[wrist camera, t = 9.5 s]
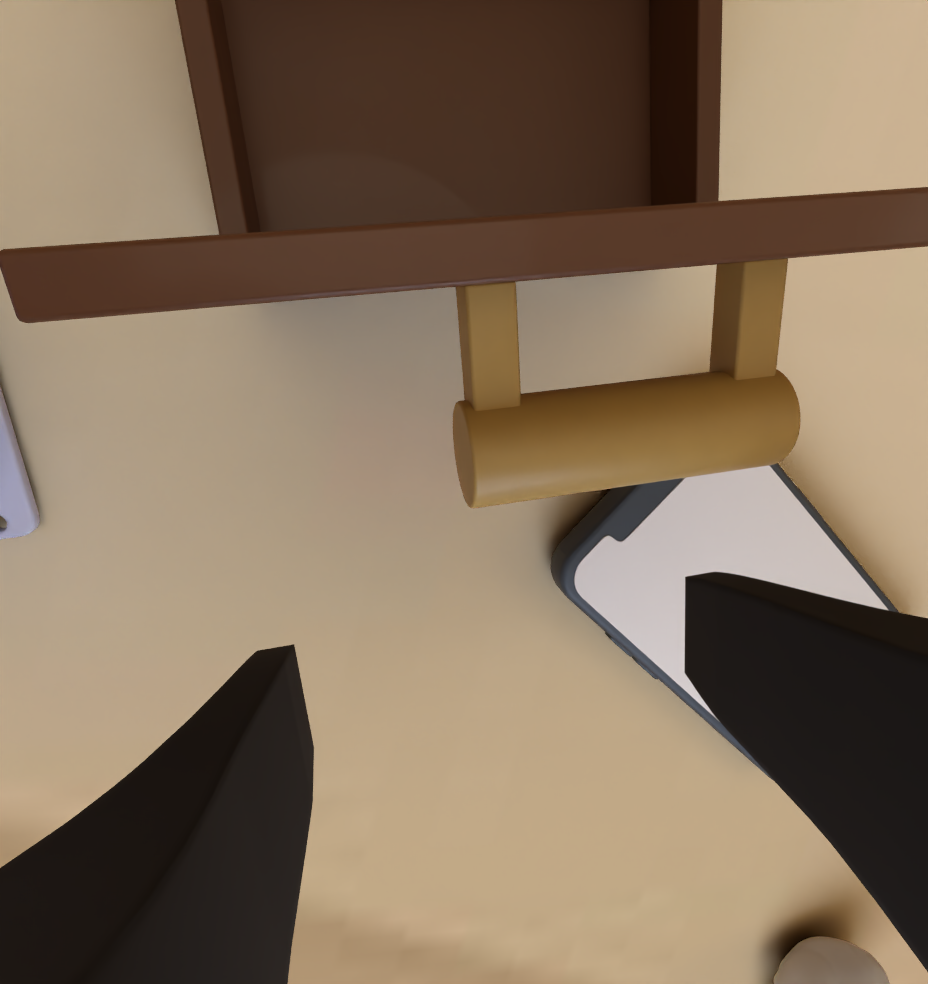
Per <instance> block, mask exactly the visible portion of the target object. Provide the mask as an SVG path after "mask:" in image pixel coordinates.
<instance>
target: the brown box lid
mask: <svg viewBox="0 0 928 984" xmlns="http://www.w3.org/2000/svg"><path fill="white" fill-rule="evenodd" d="M925 246H928V187H922V188H907V189H892V190H877V191H862V192H847V193H832V194H818V195H803V196H788V197H773V198H758V199H743V200H728V201H714V202H699V203H684V204H669V205H654V206H639V207H624V208H610V209H595V210H580V211H565V212H550V213H535V214H520V215H506V216H491V217H476V218H461V219H446V220H431V221H416V222H402V223H387V224H372V225H357V226H342V227H327V228H312V229H298V230H283V231H268V232H253V233H238V234H223V235H208V236H194V237H179V238H164V239H149V240H134V241H119V242H104V243H90V244H75V245H60V246H45V247H30V248H15V249H3V250H1V251H0V268H1V271H2V274H3V277H4V280H5V283H6V286H7V289H8V292H9V295H10V298H11V301H12V304H13V307H14V310H15V313H16V316H17V318H18V319H19V320H20V321H22V322H25V323H35V322H46V321H58V320H70V319H81V318H93V317H105V316H117V315H128V314H140V313H152V312H163V311H175V310H187V309H199V308H210V307H222V306H234V305H245V304H257V303H269V302H281V301H292V300H304V299H316V298H328V297H339V296H351V295H363V294H374V293H386V292H398V291H410V290H421V289H433V288H445V287H456V295H457V308H458V320H459V333H460V346H461V359H462V372H463V385H464V398H465V400H464V401H458V402H457V403H456V404H455V407H454V412H453V440H454V450H455V458H456V465H457V471H458V476H459V481H460V485H461V489H462V493H463V496H464V498H465V501H466V503H467V504H468V506H469V507H470V508H479V507H486V506H493V505H500V504H507V503H514V502H521V501H528V500H534V499H541V498H548V497H555V496H562V495H569V494H576V493H583V492H590V491H596V490H603V489H610V488H617V487H624V486H631V485H638V484H645V483H652V482H658V481H665V480H672V479H679V478H686V477H693V476H700V475H707V474H714V473H720V472H727V471H734V470H741V469H748V468H755V467H762V466H769V465H773V464H776V463H778V462H780V461H782V460H783V459H784V458H785V457H787V456H788V455H789V453H790V452H791V451H792V449H793V447H794V445H795V443H796V441H797V437H798V434H799V429H800V407H799V402H798V398H797V395H796V392H795V390H794V388H793V386H792V384H791V383H790V381H789V380H788V379H787V377H786V376H785V375H784V374H783V373H781V372H780V371H779V370H777V369H776V365H777V355H778V346H779V337H780V328H781V319H782V309H783V300H784V291H785V282H786V272H787V263H788V258H796V257H808V256H820V255H831V254H843V253H855V252H866V251H878V250H890V249H902V248H913V247H925ZM714 264H717V269H716V284H715V298H714V313H713V327H712V342H711V356H710V371H709V372H706V373H697V374H688V375H680V376H671V377H662V378H654V379H645V380H637V381H628V382H619V383H611V384H602V385H593V386H585V387H576V388H568V389H559V390H550V391H542V392H533V393H524V394H521V392H520V369H519V346H518V323H517V300H516V283H515V281H527V280H538V279H550V278H562V277H574V276H585V275H597V274H609V273H620V272H632V271H644V270H656V269H667V268H679V267H691V266H702V265H714Z"/></svg>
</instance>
